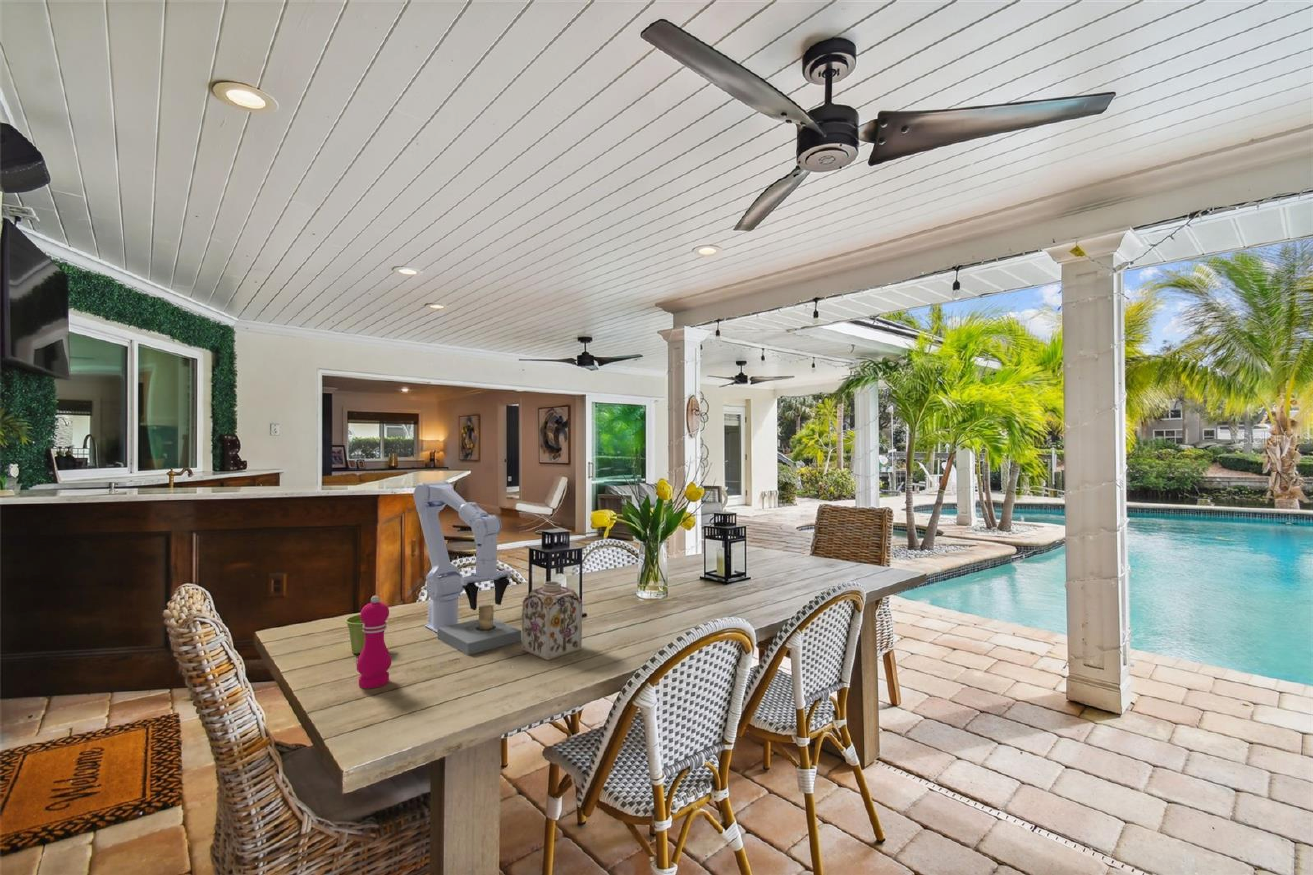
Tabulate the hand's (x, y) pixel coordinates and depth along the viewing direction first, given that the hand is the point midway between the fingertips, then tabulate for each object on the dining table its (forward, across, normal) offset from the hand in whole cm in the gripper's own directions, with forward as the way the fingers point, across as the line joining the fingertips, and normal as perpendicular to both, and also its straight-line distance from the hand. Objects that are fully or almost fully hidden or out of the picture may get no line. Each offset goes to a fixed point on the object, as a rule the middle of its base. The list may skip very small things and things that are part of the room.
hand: (485, 606), depth 167 cm
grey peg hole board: (+9, -2, 0) cm, 9 cm away
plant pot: (+9, -28, +13) cm, 32 cm away
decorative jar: (+9, +8, -21) cm, 24 cm away
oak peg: (+9, 0, 0) cm, 9 cm away
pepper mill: (+9, -34, -11) cm, 37 cm away
